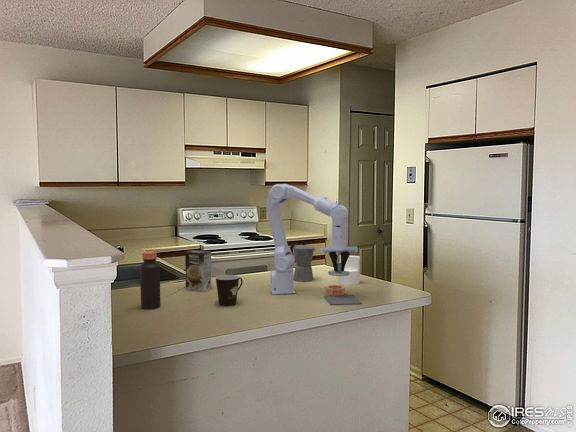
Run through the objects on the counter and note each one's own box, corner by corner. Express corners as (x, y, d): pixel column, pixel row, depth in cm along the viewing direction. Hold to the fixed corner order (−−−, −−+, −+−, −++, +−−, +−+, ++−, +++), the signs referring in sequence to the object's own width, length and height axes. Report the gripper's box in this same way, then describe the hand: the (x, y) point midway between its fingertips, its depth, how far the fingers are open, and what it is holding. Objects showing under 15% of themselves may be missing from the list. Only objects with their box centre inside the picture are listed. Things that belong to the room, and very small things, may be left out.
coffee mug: (220, 308, 164) (220, 280, 164) (212, 302, 172) (212, 276, 171) (250, 304, 170) (250, 277, 169) (241, 298, 177) (241, 273, 176)
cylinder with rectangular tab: (336, 283, 202) (337, 257, 201) (342, 279, 210) (342, 253, 209) (356, 285, 199) (357, 258, 198) (361, 281, 207) (362, 255, 206)
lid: (331, 276, 175) (331, 266, 175) (325, 271, 184) (325, 261, 183) (352, 275, 177) (352, 265, 176) (346, 271, 185) (346, 261, 184)
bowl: (328, 295, 182) (328, 289, 182) (323, 291, 189) (323, 285, 189) (346, 295, 183) (346, 288, 183) (341, 290, 190) (341, 284, 190)
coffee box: (184, 289, 190) (184, 251, 189) (193, 286, 196) (193, 249, 195) (203, 292, 187) (203, 253, 186) (212, 288, 193) (211, 250, 191)
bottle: (138, 306, 166) (136, 251, 164) (156, 303, 170) (155, 250, 169) (144, 310, 161) (143, 254, 159) (163, 307, 165) (162, 252, 163)
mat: (330, 305, 168) (330, 304, 168) (323, 296, 180) (323, 295, 180) (362, 304, 170) (362, 303, 170) (352, 295, 182) (352, 294, 182)
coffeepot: (321, 280, 208) (321, 241, 206) (306, 283, 202) (307, 243, 200) (296, 275, 219) (297, 237, 217) (282, 278, 213) (282, 239, 211)
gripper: (323, 238, 174) (323, 273, 175) (360, 237, 176) (359, 272, 177) (319, 235, 181) (319, 269, 182) (354, 235, 183) (354, 268, 184)
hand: (338, 270), depth 180 cm, fingers closed on lid, 2 cm apart
